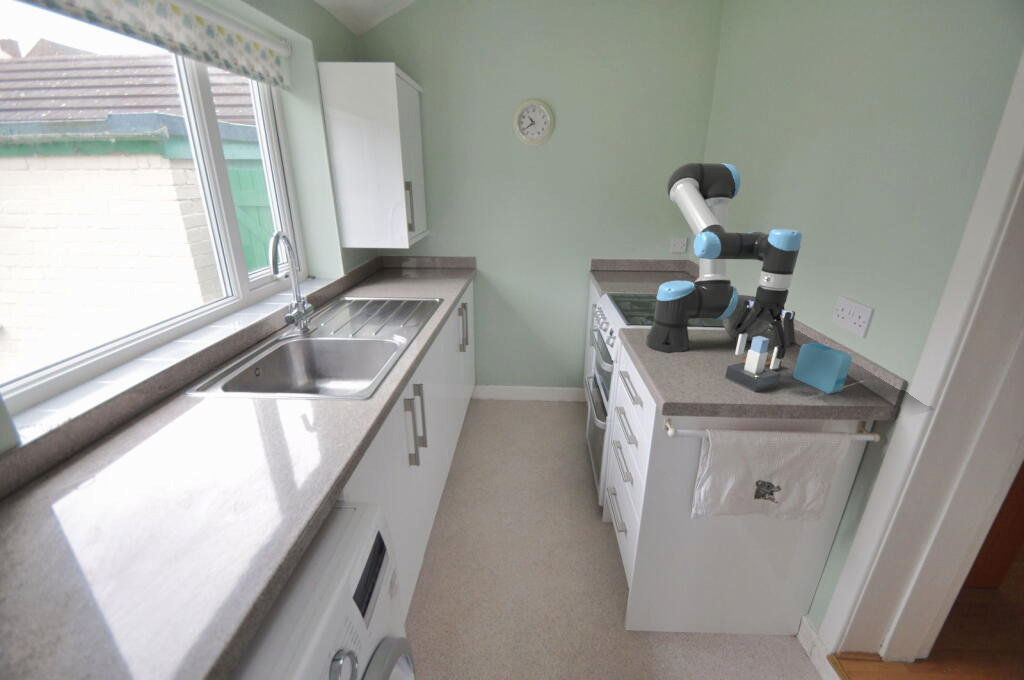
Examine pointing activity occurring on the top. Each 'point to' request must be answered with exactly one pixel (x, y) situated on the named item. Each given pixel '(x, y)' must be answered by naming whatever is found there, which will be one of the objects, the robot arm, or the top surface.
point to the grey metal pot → (756, 329)
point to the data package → (822, 367)
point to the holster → (767, 363)
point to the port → (752, 377)
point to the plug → (757, 355)
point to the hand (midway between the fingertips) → (755, 360)
